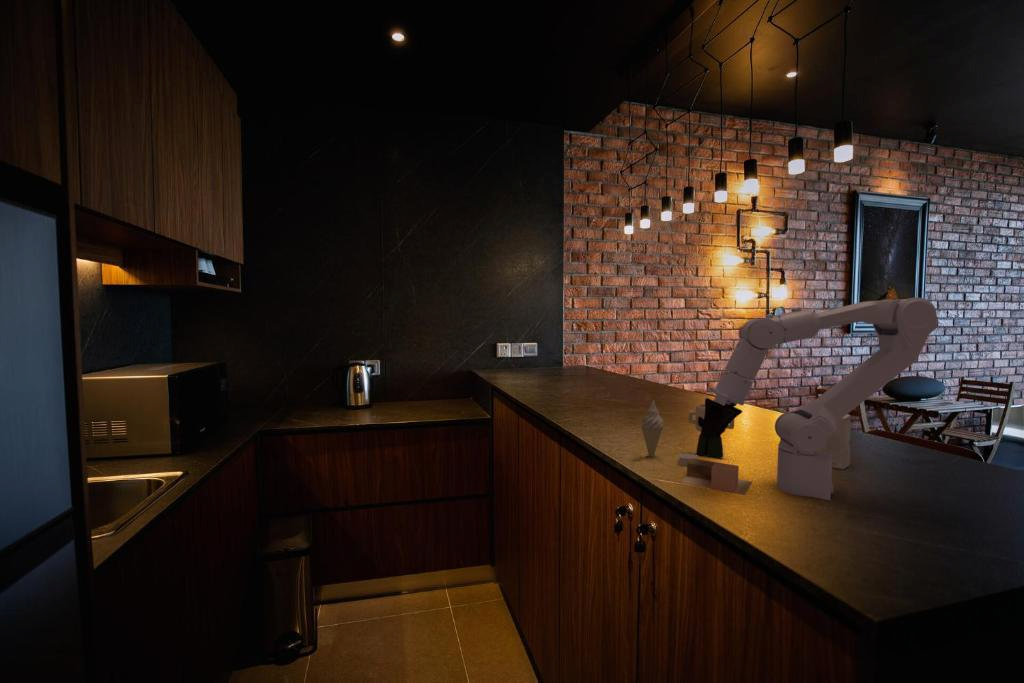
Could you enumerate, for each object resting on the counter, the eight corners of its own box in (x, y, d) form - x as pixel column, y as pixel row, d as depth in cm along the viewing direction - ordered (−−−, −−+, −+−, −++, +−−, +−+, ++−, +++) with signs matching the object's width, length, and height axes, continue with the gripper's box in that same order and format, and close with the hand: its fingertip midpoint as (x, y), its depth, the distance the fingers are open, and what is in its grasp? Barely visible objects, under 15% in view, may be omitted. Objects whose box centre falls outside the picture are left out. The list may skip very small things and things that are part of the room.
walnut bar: (726, 476, 102) (726, 464, 102) (721, 482, 99) (722, 469, 99) (692, 470, 106) (692, 458, 106) (686, 476, 103) (687, 463, 103)
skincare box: (844, 470, 111) (846, 418, 111) (821, 465, 114) (823, 415, 114) (850, 464, 115) (852, 414, 115) (828, 460, 119) (830, 411, 118)
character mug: (682, 456, 120) (684, 405, 120) (691, 450, 126) (693, 401, 125) (729, 465, 114) (730, 410, 113) (736, 458, 119) (738, 406, 119)
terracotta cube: (737, 486, 96) (738, 465, 96) (733, 492, 93) (734, 471, 93) (715, 482, 99) (716, 462, 99) (711, 488, 95) (711, 467, 95)
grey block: (697, 467, 112) (697, 455, 112) (697, 472, 109) (698, 459, 108) (679, 465, 114) (679, 453, 114) (679, 470, 110) (679, 457, 110)
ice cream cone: (657, 464, 114) (659, 401, 113) (637, 460, 117) (638, 399, 116) (665, 459, 118) (666, 399, 117) (645, 456, 121) (646, 396, 120)
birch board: (752, 486, 100) (752, 481, 99) (744, 499, 92) (744, 494, 92) (692, 475, 106) (692, 470, 106) (680, 486, 99) (680, 481, 99)
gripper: (725, 369, 104) (698, 425, 106) (712, 364, 92) (682, 427, 94) (758, 383, 101) (730, 441, 102) (749, 379, 89) (717, 445, 90)
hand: (709, 436), depth 98 cm, fingers open, 7 cm apart
